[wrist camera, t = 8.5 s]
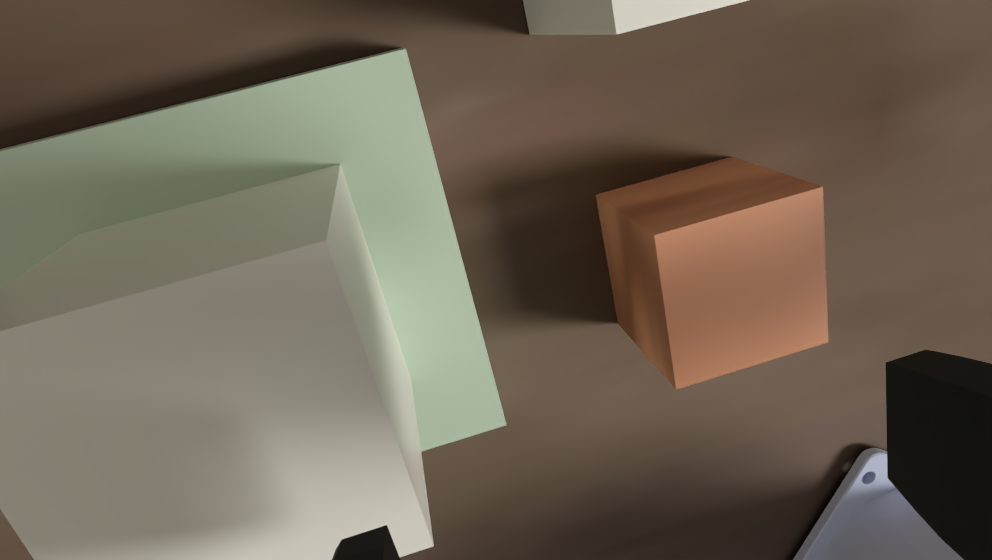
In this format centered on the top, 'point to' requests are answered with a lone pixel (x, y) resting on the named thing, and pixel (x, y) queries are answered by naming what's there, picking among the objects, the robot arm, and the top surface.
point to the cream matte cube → (209, 387)
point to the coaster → (272, 157)
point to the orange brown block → (717, 267)
